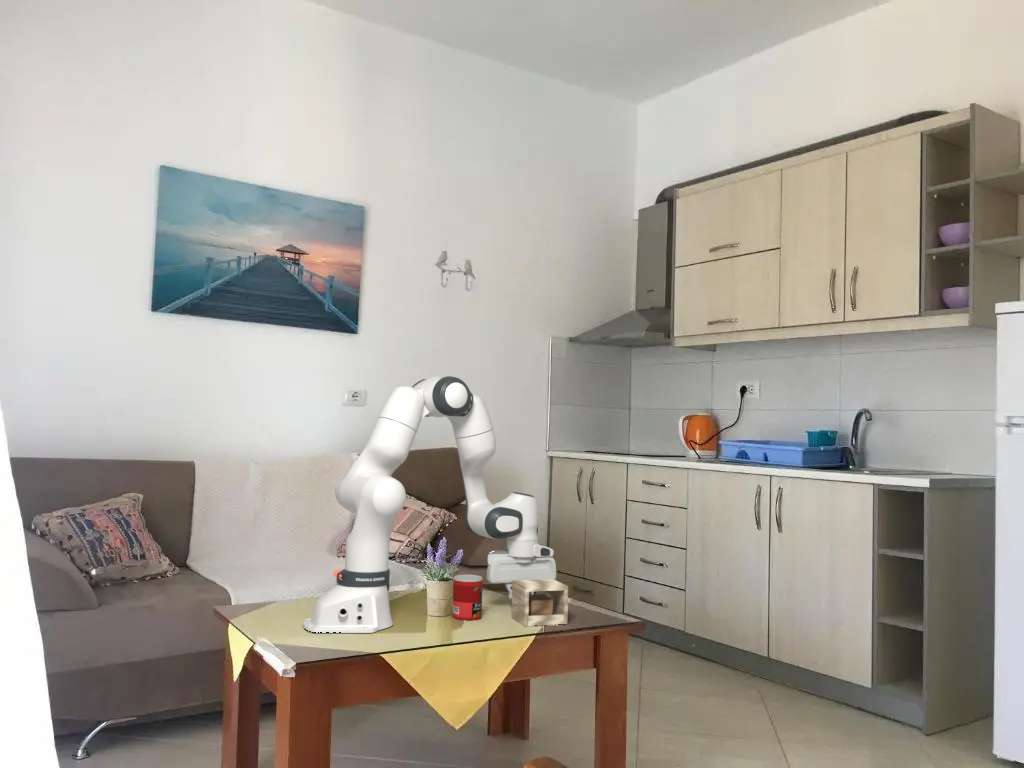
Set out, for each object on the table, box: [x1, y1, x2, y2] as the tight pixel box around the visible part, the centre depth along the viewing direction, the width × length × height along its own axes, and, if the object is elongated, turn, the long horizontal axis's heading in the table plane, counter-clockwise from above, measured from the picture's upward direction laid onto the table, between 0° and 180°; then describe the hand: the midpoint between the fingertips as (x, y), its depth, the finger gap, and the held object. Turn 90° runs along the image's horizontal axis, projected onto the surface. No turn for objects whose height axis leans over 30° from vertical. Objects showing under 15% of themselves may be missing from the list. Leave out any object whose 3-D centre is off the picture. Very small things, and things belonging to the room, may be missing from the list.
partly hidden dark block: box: [528, 593, 553, 616], centre depth 237 cm, size 6×20×6 cm, turn 18°
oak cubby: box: [511, 579, 569, 627], centre depth 230 cm, size 12×11×10 cm
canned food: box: [452, 574, 484, 622], centre depth 231 cm, size 8×8×11 cm
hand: (521, 598), depth 244 cm, fingers closed on partly hidden dark block, 4 cm apart
